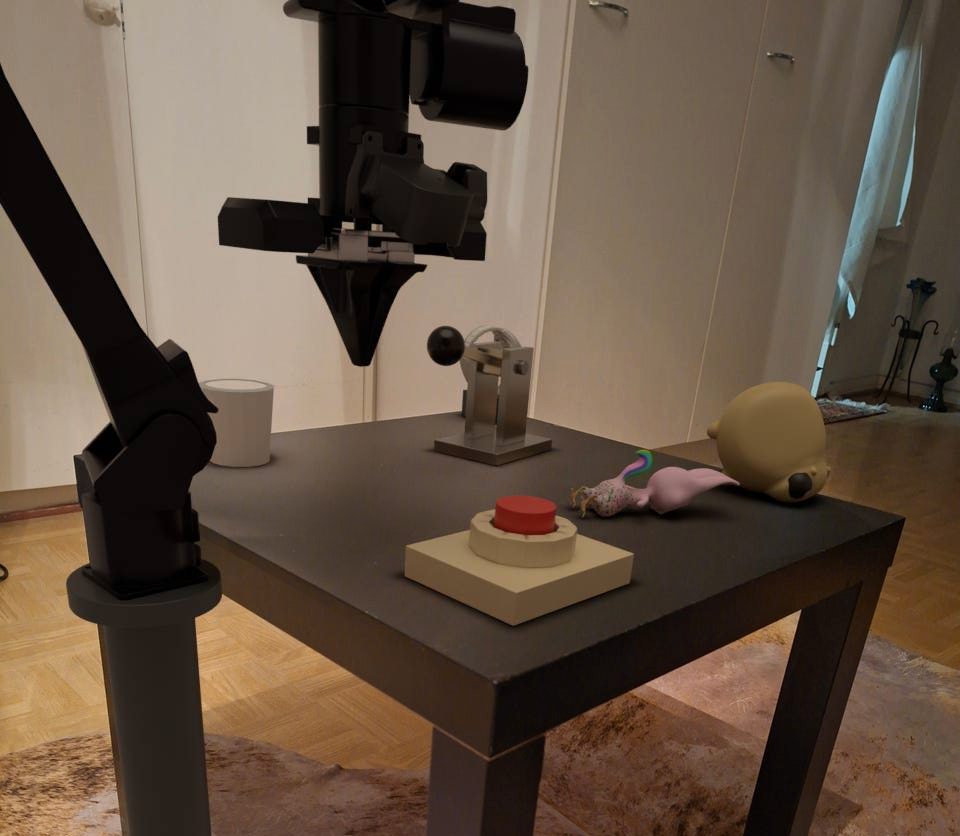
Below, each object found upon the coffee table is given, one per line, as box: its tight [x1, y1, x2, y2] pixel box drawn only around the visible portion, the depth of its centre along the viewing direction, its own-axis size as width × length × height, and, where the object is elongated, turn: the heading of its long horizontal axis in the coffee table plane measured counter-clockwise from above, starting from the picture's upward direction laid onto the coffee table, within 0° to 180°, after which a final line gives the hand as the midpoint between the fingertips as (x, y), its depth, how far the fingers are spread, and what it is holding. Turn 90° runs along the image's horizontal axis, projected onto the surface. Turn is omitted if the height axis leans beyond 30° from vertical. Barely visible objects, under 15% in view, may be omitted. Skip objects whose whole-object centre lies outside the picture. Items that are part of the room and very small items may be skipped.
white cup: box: [198, 378, 275, 468], centre depth 81 cm, size 7×7×7 cm
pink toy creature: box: [569, 449, 740, 519], centre depth 75 cm, size 6×6×15 cm
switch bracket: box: [433, 341, 553, 467], centre depth 91 cm, size 11×8×11 cm
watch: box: [458, 324, 523, 425], centre depth 107 cm, size 6×8×11 cm
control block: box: [404, 508, 635, 627], centre depth 58 cm, size 12×10×4 cm
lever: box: [426, 325, 503, 378], centre depth 85 cm, size 13×4×4 cm, turn 145°
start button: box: [494, 494, 557, 535], centre depth 57 cm, size 4×4×2 cm
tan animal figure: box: [706, 381, 832, 504], centre depth 84 cm, size 10×12×11 cm
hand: (361, 365), depth 62 cm, fingers closed
